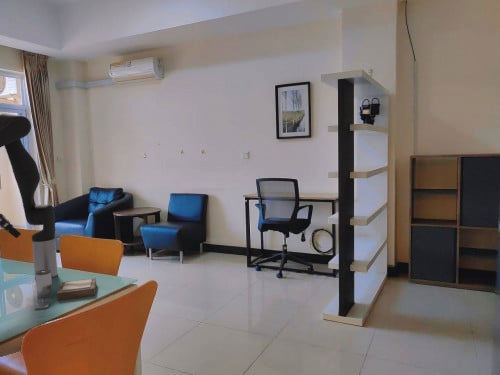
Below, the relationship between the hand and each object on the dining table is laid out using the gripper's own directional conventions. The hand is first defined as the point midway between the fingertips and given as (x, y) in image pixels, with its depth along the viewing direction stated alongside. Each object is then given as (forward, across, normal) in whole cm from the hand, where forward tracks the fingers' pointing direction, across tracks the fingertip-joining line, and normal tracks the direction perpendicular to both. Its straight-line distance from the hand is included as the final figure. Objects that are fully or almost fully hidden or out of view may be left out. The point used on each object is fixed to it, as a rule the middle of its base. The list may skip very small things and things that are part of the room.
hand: (17, 234), depth 143 cm
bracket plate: (+24, -11, +13) cm, 29 cm away
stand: (+32, -5, +2) cm, 32 cm away
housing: (+25, 0, +10) cm, 27 cm away
